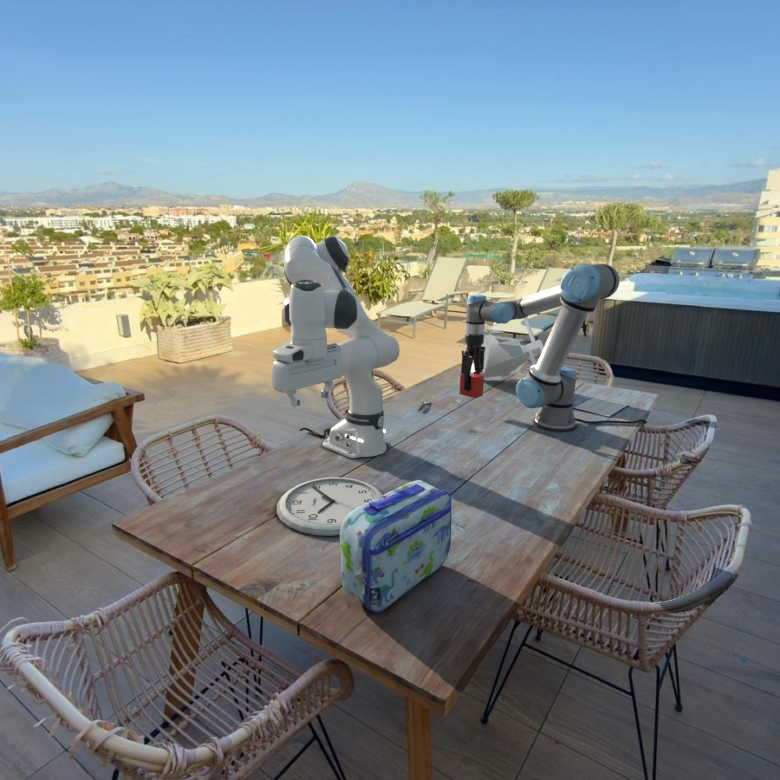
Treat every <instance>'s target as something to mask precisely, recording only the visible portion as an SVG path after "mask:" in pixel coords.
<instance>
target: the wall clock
mask: <svg viewBox="0 0 780 780" xmlns="http://www.w3.org/2000/svg"><path fill="white" fill-rule="evenodd" d="M384 494H385V493H383V492H382V491H381V490H380V489H379V488H377V487H376V486H374V485H372V484H371V483H369V482H365V481H362V480H359V479H355V478H349V477H338V476H337V477H335V476H333V477H332V476H331V477H322V478H317V479H312V480H307V481H305V482H302V483H299V484H297V485H295V486H293V487H292V488H290V489H288V490H287V491H286V492H285V493H284V494H283V495H281V496H280V498H279V499H278V502H277V503H276V515H277V517H278V518H279V520H280V521H281V522H282V523H283V524H285V525H286V526H287V527H288V528H290V529H293V530H295V531H297V532H299V533H303V534H308V535H312V536H327V537H328V536H329V537H331V536H332V537H333V536H340V530H341V526H342V523H343V521H344V519H345V518H346V516H347V515H348V514H349V513H350V512H351V511H353V510H354V509H356V508H358V507H360V506H362V505H364V504H366V503H368V502H370V501H372V500H374V499H376V498H378V497H380V496H382V495H384Z"/></svg>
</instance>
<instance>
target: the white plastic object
mask: <svg viewBox="0 0 780 780" xmlns="http://www.w3.org/2000/svg"><path fill="white" fill-rule="evenodd" d="M523 321H524V324H525V327H526V330H527V333H528V336H529V339H530V343H526V344H524V345H523V344H522V343H521V342H520V341H519V338H514V339H511V340H506V341H501V342H500V341H499V340H497V338H496V337H495V336H494V335H493V334H484V342H483V344H481V346H483V347H485V352H484V369H483V370H482V371H483V372H482V373H481V372H480V375H484V379H489V378H496V377H501V378H505V377H509V376H511V373H512V372H513V371H514V370H516V369H517V368H519V367H520V366H522V365H523V364H525V363H526V362H528V361H529V360H530V361H531V364H532V365H535V364H537V362H538V361H537V359H536V357H535V356H538V355H541V353H542V350H543V348H544V346H545V345H544V344H543V341H542V340H541V339H537V340H536V338H535V335H534V332H533V329H532V326H531V323H530V321H529V316H528V317H526V318H523ZM532 365H531V366H532ZM473 372H476V371H475V368H474V362H473V363H472V368H471V373H473Z"/></svg>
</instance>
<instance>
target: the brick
mask: <svg viewBox="0 0 780 780" xmlns="http://www.w3.org/2000/svg"><path fill="white" fill-rule="evenodd" d="M459 375H460V377H459V395H460V396H461V395H462V396H464V397H468V398H473V399H478V398H480V397H483V396H484V383H485V378H484V375H480V374H475V373H471V372H470V375H471V390H470V391H467V390H464V375H463V374H461V373H460V374H459Z"/></svg>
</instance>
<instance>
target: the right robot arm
mask: <svg viewBox="0 0 780 780" xmlns="http://www.w3.org/2000/svg"><path fill="white" fill-rule="evenodd" d="M620 280H621V279H620V275H619V273H618V271H617V270H616V268H615V267H613V266H611V265H609V264H606V263H596V264H587V263H586V264H579V265H576V266H573V267H571V268H569V269H568V270H567V271H566V272H565V273H564V275H563V276H562V278H561V280H560V283H559V285H556V286H554V287H550V288H548V289H545V290H541V291H538V292H535V293H533V294H529V295H527V296H524V297H521V298H518V299H513V300H507V301H500V302H494V301H487V296H486V295H484V294H469V295H468V296H467V298H466V299H467V300H466V305H465V307H466V311H465V312H466V313H465V314H466V316H465V331H464V332H465V334H464V343H465V344H466V348H465V349H464V350H461V366H460V367H461V368H460V370H461V371H460V374H463V375H464V390H467V391H470V390H471V375H470V372H471V368H472V364H473V363H474V368H475V371H476V372H473V373H475V374H480V372H481V373H482V372H483V371H482V370H483V369H484V352H485V347H483V346H482V345H483V342H484V336H485V326H486V322H489V323H490V322H491V323H495V324H498V325H499V324H504V325H506V324H508V323H509V322H511V321H513V320H522V319H523V320H524V318H526V317H528V318H529V316H533V315H537V314H541V313H543V312H546V311H551V310H554V309H557V308H560V309H559V312H558V314H557V316H556V319H555V321H554V323H553V326H552V328H551V330H550V332H549V334H548V337H547V339H546V341H545V344H544V345H543V346H544V348H543V350H542V353H541V354H539V358H538V359H537V361H536V362H537V364H535V365H531V366H530V367H529V369H528V372H527V374H526V376H525V377H523V378H521V379H520V380H518V382H517V383H516V386H515V393H516V396H517V399H518V400H519V402H520V403H521V405H523V406H525V407H526V408H529V409H538V410H537V411H536V413H535V416H534V424H535V425H536V426H537V427H539V428H542V429H544V430H549V431H556V432H567V431H572V430H574V429H575V428H576V422H579V423H583V424H591V425H593V424H595V425H597V424H625V425H627V424H629V425H630V424H631V425H632V424H638V423H641V422H643V423H644V424H648V421H647V420H646V419H643V418H641V419H637V420H628V421H627V420H609V419H608V420H607V419H605V420H593V421H592V420H584V419H581V418H577V417H576V416H575V413H574V407H573V405H574V398H575V391H576V383H577V372H576V370H575V369H573V368H571V367H566V366H564V365H565V362H566V360H567V358H568V356H569V354H570V352H571V349H572V347H573V345H574V343H575V342H576V339H577V337H578V335H579V332H580V331H581V328H582V326H583V324H584V322H585V320H586V317H587V316H588V315H590V314H592V313H594V312H595V310H596V308H597V306H598V304H599V302H600V300H605V299H607V298H610V297H611V296H613V295H614V294H615V293H616V292H617V290H618V289H619V285H620Z"/></svg>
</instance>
